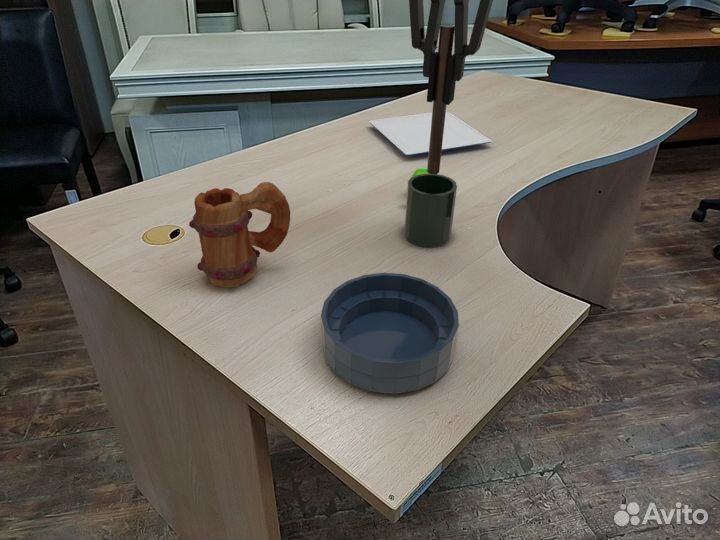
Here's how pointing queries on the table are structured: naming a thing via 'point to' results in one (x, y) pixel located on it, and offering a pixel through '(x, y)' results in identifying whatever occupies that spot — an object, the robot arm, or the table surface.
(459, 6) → the robot arm
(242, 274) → the mug
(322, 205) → the table surface
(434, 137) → the stick
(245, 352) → the table surface
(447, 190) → the holder
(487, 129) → the table surface
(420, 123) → the plate
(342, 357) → the bowl
